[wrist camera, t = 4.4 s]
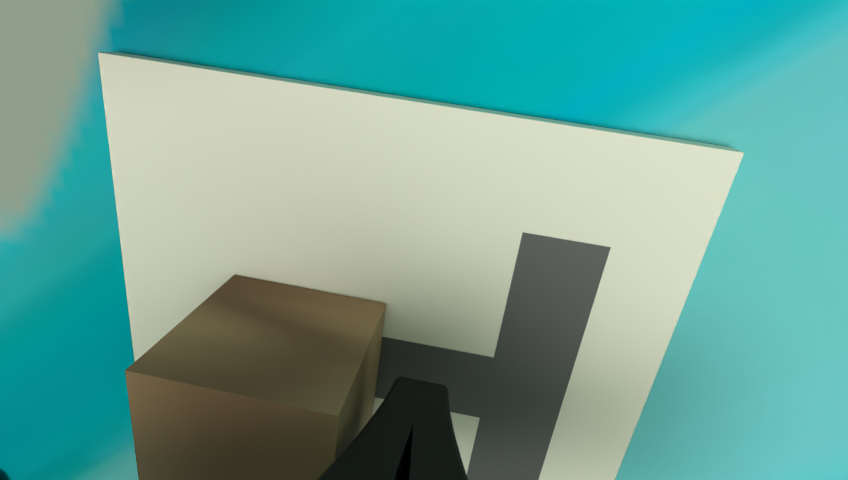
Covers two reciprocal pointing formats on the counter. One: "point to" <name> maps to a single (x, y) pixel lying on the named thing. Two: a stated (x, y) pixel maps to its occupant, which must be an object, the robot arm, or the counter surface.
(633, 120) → the counter surface
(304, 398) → the walnut block
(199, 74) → the board
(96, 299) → the counter surface
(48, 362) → the counter surface
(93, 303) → the counter surface
